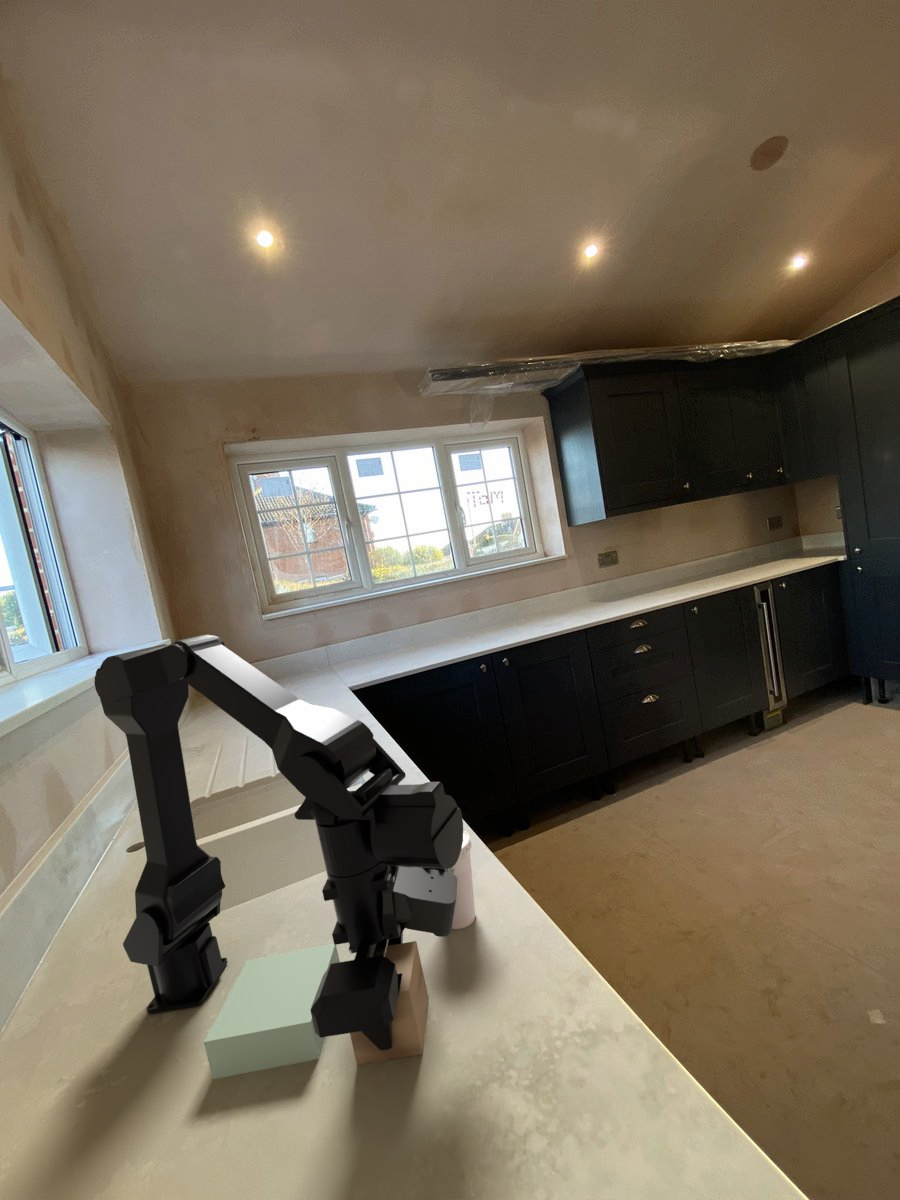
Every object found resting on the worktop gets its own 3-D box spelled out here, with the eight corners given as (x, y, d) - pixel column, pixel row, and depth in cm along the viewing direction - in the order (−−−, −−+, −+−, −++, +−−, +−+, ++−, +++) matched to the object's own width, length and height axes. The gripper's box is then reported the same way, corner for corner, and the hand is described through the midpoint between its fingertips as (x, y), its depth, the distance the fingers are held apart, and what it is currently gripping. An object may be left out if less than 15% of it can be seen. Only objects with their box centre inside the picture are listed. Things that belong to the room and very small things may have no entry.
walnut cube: (356, 1064, 46) (342, 1001, 45) (370, 1007, 52) (357, 950, 51) (422, 1054, 45) (408, 990, 45) (428, 997, 51) (416, 941, 51)
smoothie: (482, 936, 58) (457, 818, 58) (428, 938, 60) (403, 823, 59) (489, 899, 65) (467, 792, 64) (440, 902, 66) (418, 797, 65)
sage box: (213, 1082, 47) (203, 1042, 47) (255, 993, 57) (247, 959, 57) (319, 1062, 47) (310, 1021, 47) (343, 977, 57) (335, 942, 57)
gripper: (434, 910, 38) (477, 1107, 39) (447, 798, 57) (475, 933, 57) (289, 935, 39) (333, 1129, 39) (348, 816, 57) (378, 949, 58)
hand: (392, 1016), depth 49 cm, fingers closed on walnut cube, 6 cm apart
